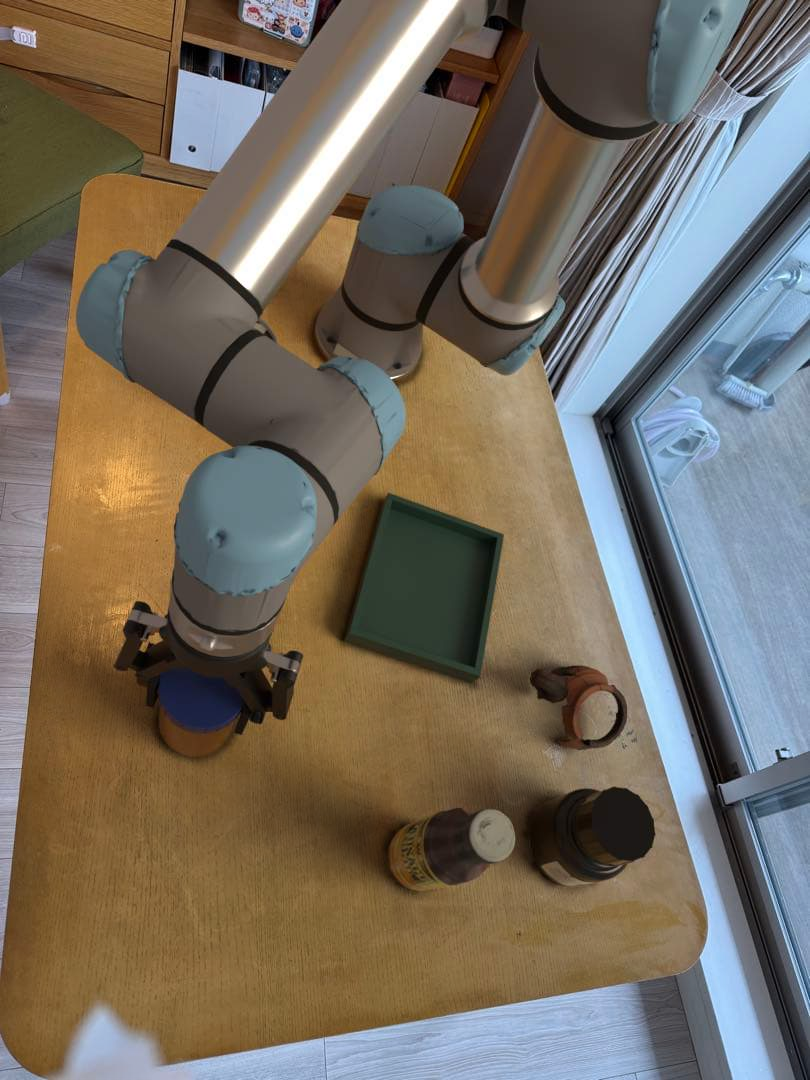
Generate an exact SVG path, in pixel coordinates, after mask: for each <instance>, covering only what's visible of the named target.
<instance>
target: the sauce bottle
mask: <svg viewBox="0 0 810 1080" xmlns="http://www.w3.org/2000/svg"><path fill="white" fill-rule="evenodd" d="M515 843H516V833H515V828H514V825H513V823H512V821H511V819H510V818H509V817H508V816H507V815H505V814H504V813H503V812H502V811H500V810H498V809H495V808H485V809H479V810H476V811H475V812H470V811H469V810H467V809H464V808H463V807H455V808H452V809H447V810H442V811H438V812H436V813H433V814H431V815H428V816H426V817H423V818H421V819H419V820H416V821H413V822H411V823H409V824H407V825H405V826H403V827H402V828H400V829H399V830H398V831H397V832H396V834H394V835H393V836H392V839H391V840H390V844H389V846H388V850H387V860H386V861H387V864H388V867H389V869H390V872H391V874H392V876H393V877H394V879H395V881H396V882H397V883H399V884H401V885H402V886H403V887H404V888H407V889H409V890H413V891H417V892H422V891H423V892H424V891H430V890H435V889H441V888H445V887H452V886H458V885H462V884H463V883H468V882H472V881H473V880H476V879H478V878H479V877H480V876H481V875H483V873H485V872H486V871H487V869H488V868H489V867H490V865H493V864H497V863H500V862H503V861H504V860H506V859H508V857H509V856H510V855H511V854H512V853H513V850H514V848H515Z"/></svg>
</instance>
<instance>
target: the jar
mask: <svg viewBox="0 0 810 1080" xmlns="http://www.w3.org/2000/svg"><path fill="white" fill-rule="evenodd" d="M235 721H236V719H235V720H234V721H233V722H232V723H231V724H230V725H229V726H227V727H225V728H223V729H221V730H219V731H218V732H217V731H216V732H212V733H207V734H197V733H194V734H193V733H191V732H187V731H185V730H183V731H182V729H180V728H178V727H177V726H175V725H174V724H172V722H171V721H170V720H168V718H167V717H166V716H164V712H163V711H162V709H161V706H159V713H158V729H159V733H160V735H161V738H162V739H163V741H164V742H165V744H166V745H167V746H168V747H169V748H170V750H173V751H174V752H176V753H178V754H179V755H183V756H187V757H202V756H205V755H208V754H211V753H213V752H215V751H216V750H218V749H219V748H221V747H222V745H223V744H224V743H226V741H227V739H228V738H229V737H230V734H231V732H232V729H233V727H234V724H235Z"/></svg>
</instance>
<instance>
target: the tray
mask: <svg viewBox="0 0 810 1080" xmlns="http://www.w3.org/2000/svg"><path fill="white" fill-rule="evenodd" d="M373 531H374V532H373V535H372V537H371V538H372V539H371V542H370V545H369V550H368V553H367V557H366V560H365V564H364V568H363V571H362V574H361V578H360V582H359V586H358V588H357V592H356V595H355V599H354V603H353V607H352V610H351V614H350V617H349V621H348V625H347V628H346V632H345V636H344V639H343V642H344V643H347V644H350V645H353V646H356V647H359V648H362V649H365V650H369V651H372V652H374V653H378V654H381V655H384V656H386V657H389V658H393V659H396V660H398V661H401V662H404V663H405V662H406V663H408V664H411V665H414V666H417V667H420V668H423V669H426V670H429V671H433V672H435V673H437V674H438V673H439V674H442V675H445V676H448V677H450V678H454V679H456V680H460V681H463V682H465V683H468V684H473V683H475V682H476V681H477V680H478V679H479V678H481V674H482V668H483V664H484V663H483V662H484V658H485V650H486V646H487V640H488V639H487V638H488V633H489V628H490V622H491V615H492V608H493V603H494V597H495V591H496V586H497V580H498V575H499V574H498V573H499V568H500V561H501V555H502V549H503V543H504V539H505V538H504V536H505V534H504V533H502V532H498V531H495V530H493V529H490V528H488V527H485V526H482V525H479V524H476V523H473V522H471V521H468V520H466V519H462V518H460V517H457V516H454V515H451V514H448V513H445V512H443V511H440V510H437V509H436V508H435V509H434V508H432V507H430V506H426V505H424V504H421V503H418V502H415V501H413V500H411V499H407V498H404V497H401V496H398V495H396V494H393V493H390V492H387V494H386V495H385V497H384V499H383V501H382V503H381V507H380V510H379V514H378V517H377V519H376V524H375V528H374V530H373Z"/></svg>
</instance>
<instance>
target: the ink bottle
mask: <svg viewBox="0 0 810 1080" xmlns="http://www.w3.org/2000/svg"><path fill="white" fill-rule="evenodd" d="M528 827H529V828H528V843H529V848H530V852H531V855H532V857H533V860H534V862H535V864H536V866H537V867H538V869H539V870H540V871H541V872H542V874H543V875H544V876H545V877H546V878H547V879H549V880H550V881H552V882H553V883H555V884H557V885H559V886H562V887H563V886H564V887H571V888H572V887H576V888H577V887H581V886H586V885H592V884H596V883H600V882H605V881H608V880H611V879H614V878H615V877H618V875H620V874H621V873H623V872H624V870H625V869H626V868H627V866H628V865H629V864H631V863H632V864H633V863H635V862H637V861H639V860H642V859H643V860H644V859H645V858H646V857H647V855H648V854H649V852H650V851H651V850H652V849H653V848H654V841H655V838H656V829H655V828H656V827H655V819H654V817H653V815H652V813H651V810H650V807H649V806H648V804H646V803H645V802H644V800H643V799H642V798H641V796H640V795H639V794H638V793H637V794H636V793H635V792H633V791H631V790H630V789H629V788H627V787H618V786H612V787H609V788H607V789H603V790H598V789H595V788H589V787H587V788H578V789H575V790H571V791H569V792H566V793H564V794H562V795H560V796H558V797H556V798H552V799H551V800H549V801H546V802H545V803H543V804H542V805H541V806H539V807H538V809H536V811H535V812H534V814H533V815H532V818H531V819H530V822H529V826H528Z"/></svg>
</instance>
